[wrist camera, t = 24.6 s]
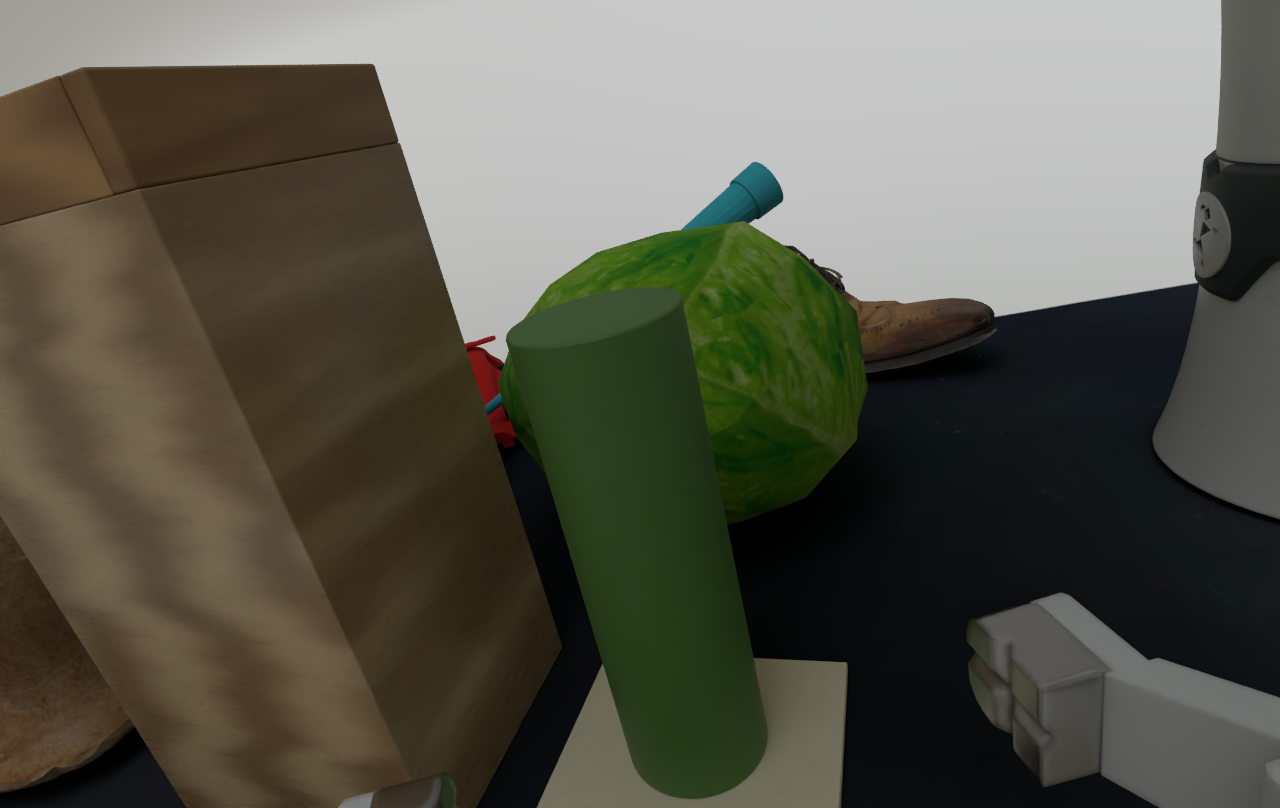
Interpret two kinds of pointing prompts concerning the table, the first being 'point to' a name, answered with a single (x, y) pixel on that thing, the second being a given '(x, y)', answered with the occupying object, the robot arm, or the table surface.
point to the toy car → (491, 388)
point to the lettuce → (741, 355)
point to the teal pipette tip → (728, 211)
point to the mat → (763, 802)
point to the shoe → (913, 326)
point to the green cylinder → (646, 530)
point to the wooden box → (257, 435)
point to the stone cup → (46, 683)
